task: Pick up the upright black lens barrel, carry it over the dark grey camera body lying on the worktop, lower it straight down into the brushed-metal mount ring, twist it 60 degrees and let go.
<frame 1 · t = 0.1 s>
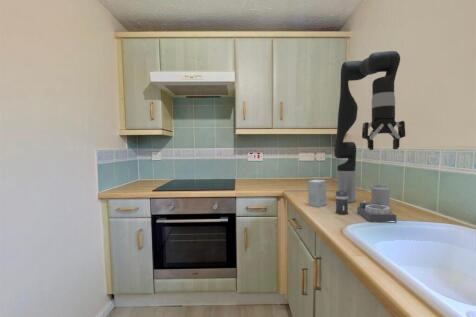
hand: (383, 149, 90), 29 cm above the worktop, tool pointing down, fingers open, 8 cm apart
small box: (317, 205, 127), on the worktop
lens: (341, 213, 110), on the worktop
camera body: (375, 217, 103), on the worktop
can: (380, 209, 115), on the worktop
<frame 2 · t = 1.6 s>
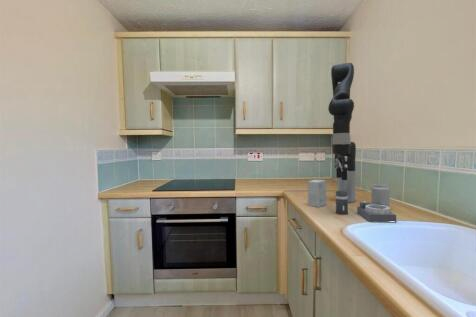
hand: (341, 178, 110), 16 cm above the worktop, tool pointing down, fingers open, 8 cm apart
nothing on the worktop moved.
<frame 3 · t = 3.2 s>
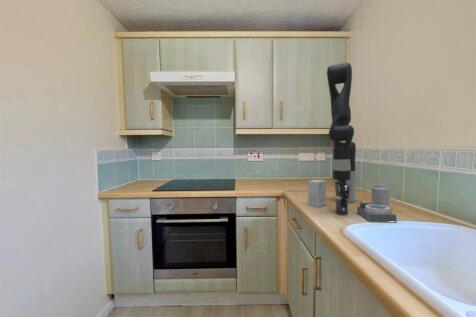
hand: (341, 205, 110), 3 cm above the worktop, tool pointing down, fingers closed on lens, 5 cm apart
lens: (341, 213, 110), on the worktop, touching gripper
everything else where it was.
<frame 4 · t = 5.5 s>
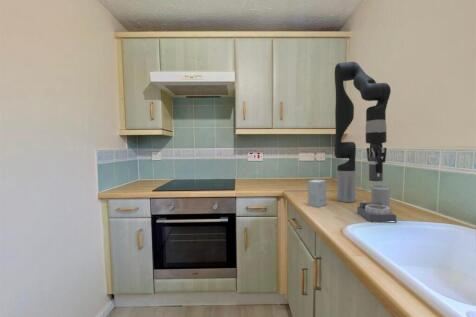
hand: (376, 172, 100), 20 cm above the worktop, tool pointing down, fingers closed on lens, 5 cm apart
lens: (375, 180, 100), point 16 cm above the worktop, touching gripper
everything else where it was.
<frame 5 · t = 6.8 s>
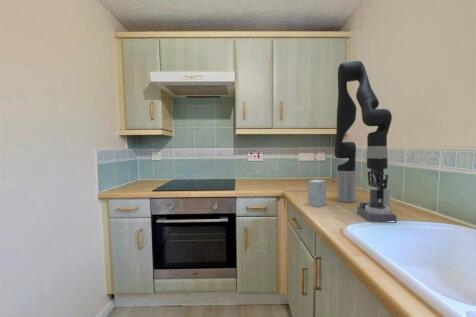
hand: (377, 197, 100), 9 cm above the worktop, tool pointing down, fingers closed on lens, 5 cm apart
lens: (376, 205, 100), point 6 cm above the worktop, touching gripper
everything else where it was.
when the fingers open (7 cm above the worktop, at t = 8.0 s): lens stays where it is, resting on camera body.
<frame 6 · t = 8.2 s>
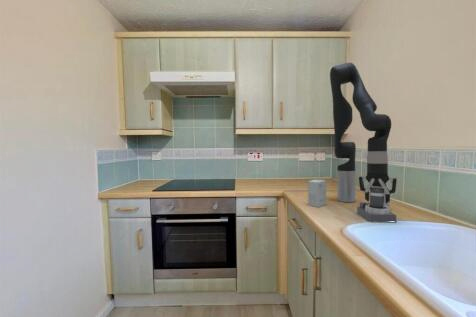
hand: (377, 201, 100), 7 cm above the worktop, tool pointing down, fingers open, 6 cm apart
lens: (376, 211, 100), point 3 cm above the worktop, touching camera body
everything else where it was.
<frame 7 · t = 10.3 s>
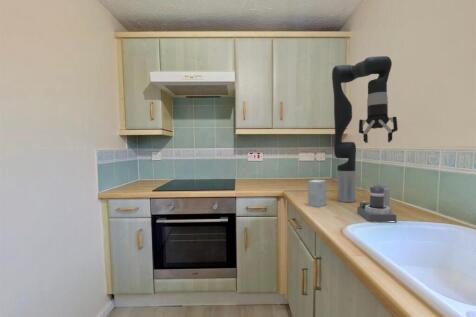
hand: (377, 142, 103), 32 cm above the worktop, tool pointing down, fingers open, 8 cm apart
nothing on the worktop moved.
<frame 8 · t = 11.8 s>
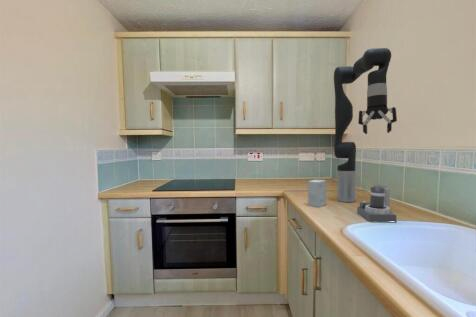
hand: (377, 133, 104), 36 cm above the worktop, tool pointing down, fingers open, 8 cm apart
nothing on the worktop moved.
at the end: lens 0.4 cm from the target spot on the camera body, point 3.1 cm above the camera body's base; lens tilted 2°; the gripper is holding nothing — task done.
